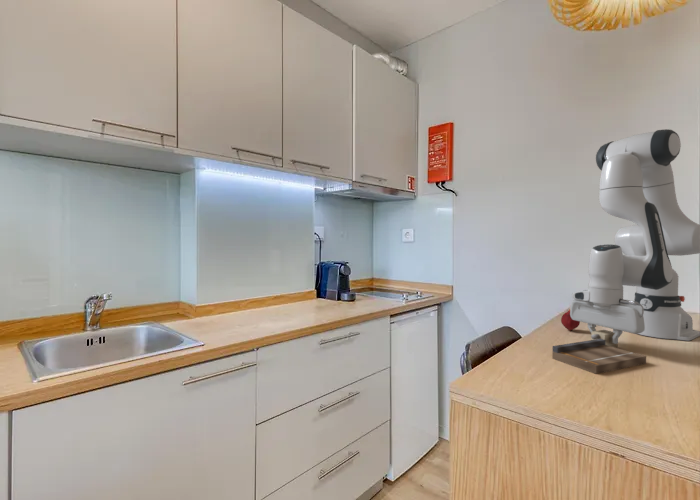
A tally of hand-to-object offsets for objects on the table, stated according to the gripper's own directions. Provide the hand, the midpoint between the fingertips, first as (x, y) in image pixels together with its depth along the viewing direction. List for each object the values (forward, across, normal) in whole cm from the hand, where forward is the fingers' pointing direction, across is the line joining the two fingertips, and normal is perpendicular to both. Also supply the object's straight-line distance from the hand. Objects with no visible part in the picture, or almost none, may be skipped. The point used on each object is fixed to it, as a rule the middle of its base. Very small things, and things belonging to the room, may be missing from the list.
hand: (604, 340), depth 108 cm
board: (+2, -8, +15) cm, 17 cm away
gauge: (+2, 0, 0) cm, 2 cm away
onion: (+2, +17, -8) cm, 19 cm away
